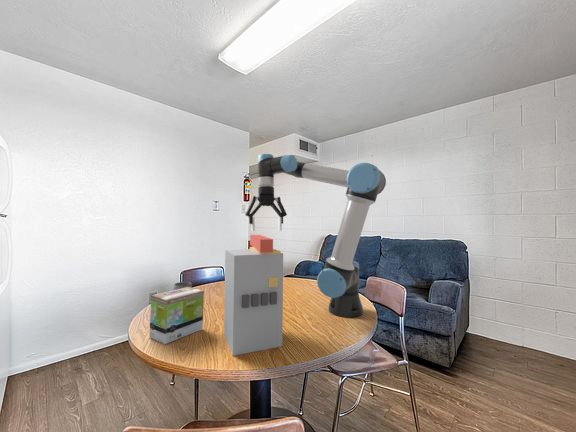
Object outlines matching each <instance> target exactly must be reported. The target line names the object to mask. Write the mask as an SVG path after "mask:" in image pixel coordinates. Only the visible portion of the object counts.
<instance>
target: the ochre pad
mask: <svg viewBox="0 0 576 432" xmlns="http://www.w3.org/2000/svg"><path fill="white" fill-rule="evenodd" d="M249 249H251V250H253V251H256V252H258V253H260V252H259V251H258V250H256V249H255V248H254V247H253V246H249ZM281 253H282V252H281V250H277V249H275V248H273V252H262V253H261V254H281Z"/></svg>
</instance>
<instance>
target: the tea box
mask: <svg viewBox="0 0 576 432" xmlns="http://www.w3.org/2000/svg"><path fill="white" fill-rule="evenodd" d="M204 295H205V290H202V289H198V288H193V287H192V288H190V287H186V288H181V289H177V290H173V289H172V290H169V291H164V292H160V293H156V294H152V295H151V297H150V312H149V313H150V315H149V317H150V318H149V335H148V336H149V338H151V339H153V340H154V341H157V342H159V343H161V344H164V345H168V344H170V343H171V342H174V341H176V340H179V339H181V338H185V337H186V336H188V335H191V334H194V333H196V332H199V331H202V330H203V327H204V325H203V324H204V302H205V301H204V299H205V297H204Z"/></svg>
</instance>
